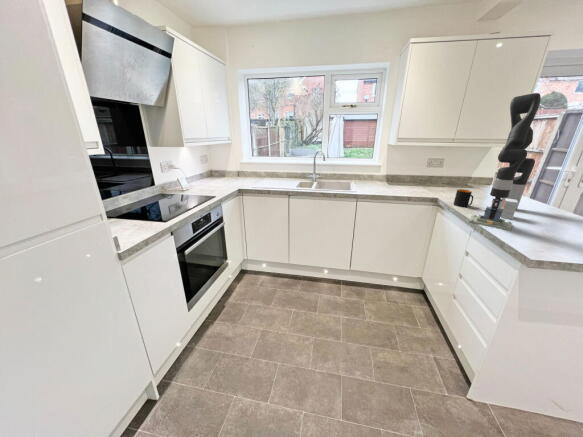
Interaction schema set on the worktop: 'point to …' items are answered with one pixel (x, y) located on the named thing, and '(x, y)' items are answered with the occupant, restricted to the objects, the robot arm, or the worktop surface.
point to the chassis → (491, 222)
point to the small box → (509, 208)
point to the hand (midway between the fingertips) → (491, 217)
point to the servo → (497, 215)
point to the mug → (463, 198)
